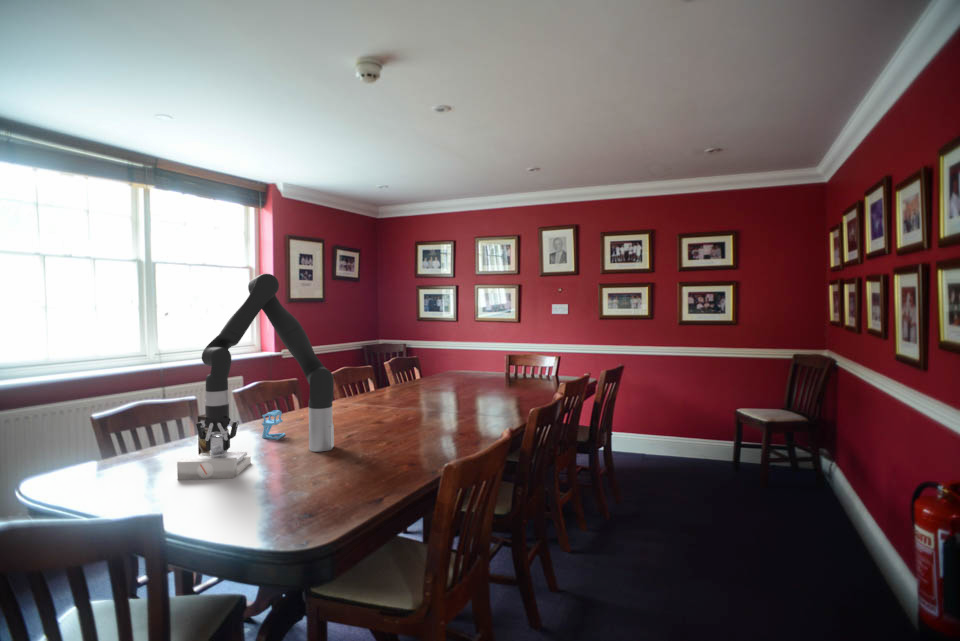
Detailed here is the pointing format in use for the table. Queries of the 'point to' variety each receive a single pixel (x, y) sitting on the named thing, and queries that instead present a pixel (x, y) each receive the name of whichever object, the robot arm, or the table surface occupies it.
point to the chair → (270, 423)
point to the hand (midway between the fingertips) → (218, 450)
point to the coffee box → (201, 441)
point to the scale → (210, 468)
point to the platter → (223, 455)
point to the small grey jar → (217, 444)
